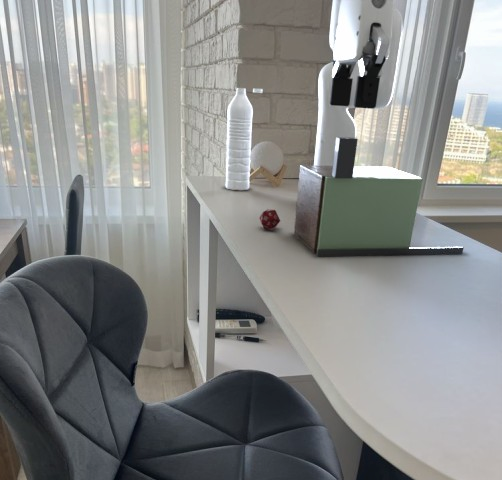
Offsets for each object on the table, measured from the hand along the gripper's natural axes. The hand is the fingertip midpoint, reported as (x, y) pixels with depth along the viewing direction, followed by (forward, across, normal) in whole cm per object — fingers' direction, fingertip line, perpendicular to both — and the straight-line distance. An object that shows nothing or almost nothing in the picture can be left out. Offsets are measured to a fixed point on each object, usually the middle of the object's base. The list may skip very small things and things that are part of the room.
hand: (351, 106), depth 77 cm
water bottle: (+23, +61, +4) cm, 65 cm away
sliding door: (+23, +1, -6) cm, 24 cm away
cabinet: (+23, +7, -11) cm, 27 cm away
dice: (+24, +18, +7) cm, 30 cm away
